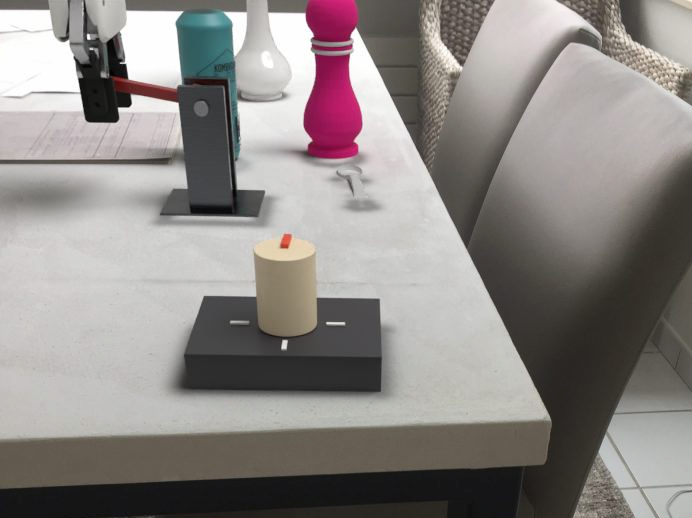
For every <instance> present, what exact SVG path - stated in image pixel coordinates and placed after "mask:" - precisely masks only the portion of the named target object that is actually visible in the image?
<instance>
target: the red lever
mask: <svg viewBox="0 0 692 518" xmlns="http://www.w3.org/2000/svg"><path fill="white" fill-rule="evenodd" d="M109 77H113V79H114V85H115V91H120V92H125V93H130V94H131V95H136V96H141V97H147V98H150V99H151V98H152V99H157V100H162V101H166V102H171V103H172V102H173V103H177V104H179V103H178V94H177V88H174V87H168V86H163V85H159V84H152V83H149V82H142V81H138V80H133V79H129V80H128V79H123V78H118V77H115V74H114V72H113V71H112V70H111V69H110V68H109ZM193 85H199V84H193Z"/></svg>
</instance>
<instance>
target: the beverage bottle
mask: <svg viewBox="0 0 692 518" xmlns="http://www.w3.org/2000/svg"><path fill="white" fill-rule="evenodd" d="M174 23H175V27H176V28H175V29H176V36H177V47H178V58H179V68H180V77H181V78H180V79H181V85H184V77H185V76H219V77H229V80H230V94H231V108H232V121H233V135H234V149H235V159H236V158H238V157H239V156H240V153H241V140H242V138H241V125H240V123H241V121H240V118H239V117H240V114H239V110H238V108H239V107H238V104H239V102H238V93H237V87H236V83H237V82H236V76H235V71H236V69H235V68H236V65H235V63H236V62H235V61H234V57H235V56H236V55H235V52H234V51H235V50H234V37H233V36H234V35H233V33H234V32H233V27H234V24H233V21H232V20H231V18H230V17H229V16H228V15H227V14H226V13H225V12H224V11H223V10H221V9H217V8H208V7H207V8H205V7H204V8H190V9H185V10H184V11H183V12H182V13H181V14H180V15H179V16H178V17H177V19H176V20H175V22H174ZM235 59H236V58H235Z"/></svg>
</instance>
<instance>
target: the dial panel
mask: <svg viewBox="0 0 692 518" xmlns="http://www.w3.org/2000/svg"><path fill="white" fill-rule="evenodd" d="M381 317H382V316H381V299H380V298H374V297H372V298H369V297H368V298H366V297H363V298H362V297H317V326H316V327H315V329H314V330H312V331H311V332H309V333H306V334H303V335H299V336H292V337H282V336H275V335H271V334H268V333H266V332H264V331H262V330H261V329H260V328H259V325H258V312H257V297H256V296H245V295H244V296H243V295H241V296H239V295H203V297H202V300H201V303H200V306H199V309H198V312H197V314H196V318H195V320H194V324H193V326H192V329H191V333H190V335H189V337H188V341H187V344H186V346H185V350H184V353H183V360H184V368H185V375H186V376H185V377H186V384H187V389H188V390H197V391H198V390H201V391H202V390H206V391H207V390H208V391H275V392H276V391H277V392H279V391H281V392H283V391H285V392H286V391H288V392H356V393H357V392H359V393H361V392H362V393H363V392H367V393H370V392H371V393H381V392H382V372H383V371H382V369H383V368H382V366H383V346H382V322H381V321H382V320H381Z"/></svg>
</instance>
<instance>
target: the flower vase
mask: <svg viewBox="0 0 692 518" xmlns="http://www.w3.org/2000/svg"><path fill="white" fill-rule="evenodd" d="M245 2H246V29H245V35H244V39H243V42H242V45H241V47H240V49H239V50H238V51H237V53H236V54H235V55H234V56H235V57H234V61H235V62H236V63H235V65H236V68H235V69H236V71H235V76H236V82H237V83H236V89H238V90H240V91H241V93H240V96H241V98H243V99H245V100H248V101H255V102H269V101H270V102H271V101H276V100H279V99H281V98H282V97H283V92H282V91H283V90H284V89H286V88H287V87H288V86H289V85H290V83H291V81H292V78H293V73H292V67H291V65H290V62H289V61H288V59H287V58H286V57H285V55H284V54H283V53H282V52H281V51H280V50H279V48H278V46H277V44H276V42H275V39H274V37H273V34H272V30H271V26H270V25H271V23H270V17H269V5H268V0H246V1H245ZM235 58H236V59H235Z"/></svg>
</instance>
